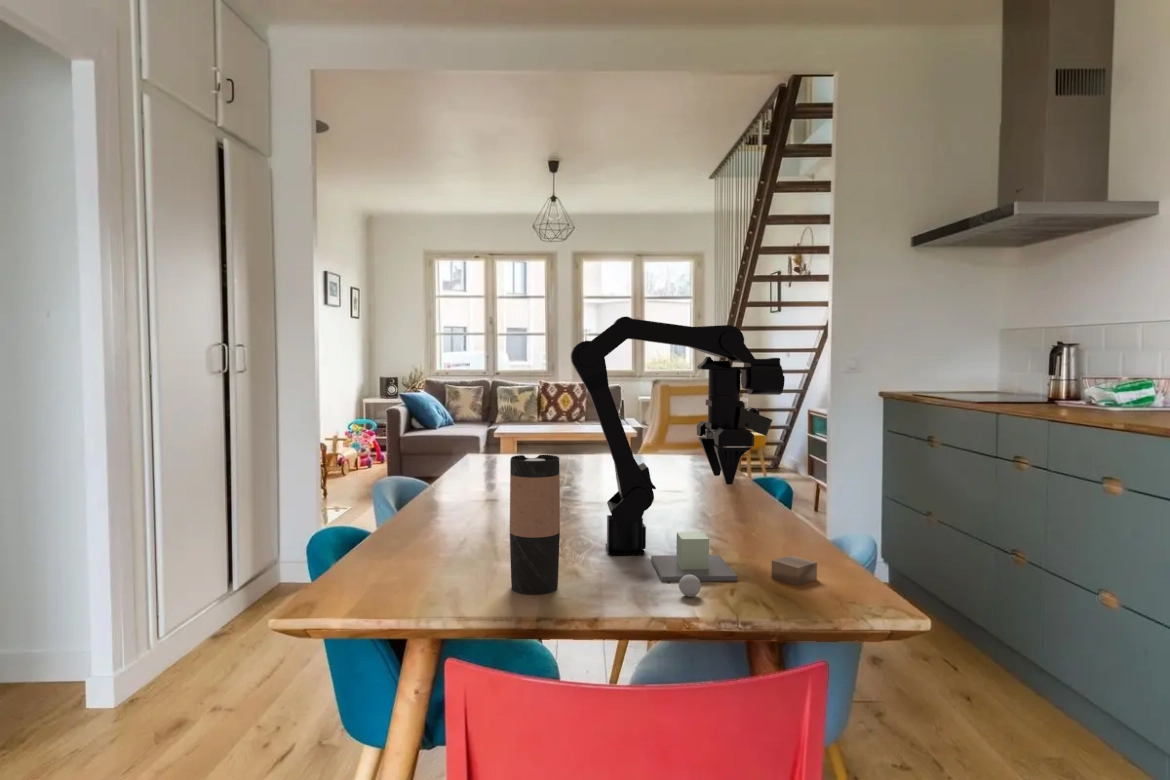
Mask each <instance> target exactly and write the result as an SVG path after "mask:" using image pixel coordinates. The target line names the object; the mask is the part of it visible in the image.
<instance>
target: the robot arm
mask: <svg viewBox="0 0 1170 780" xmlns="http://www.w3.org/2000/svg"><path fill="white" fill-rule="evenodd" d="M627 340H632V341H642V342H649V343H657V344H666V345H671V346H672V345H673V346H677V347H678V346H680V347H687V348H690V349H693V350H695V351H697V352H701V353H703V354H707V355H710V356H705V357H704V359H703V360H702V362H700V363H699V364H698V365H697V369H698V370H703V371H704V370H708V386H707V387H708V390H707V392H708V393H707V395H708V396H707V398H708V399H705V405H706V406H707V420H701V421H700V422H699V423H698V424H697V425H696V435H697V436H698V441H699V443H700V444H701V448H702V449H703V452H704V454H705V457H706V458H707V461H708V464H709V467H710V469H711V472H712V474H713V476H715V477H719V476H720V475H721V473H722V476H723V478H724V482H725V484H726V485H728V486H729V485H733V483H734V480H735V476H736V474H737V469H738V466H739V463H740V461H741V458H742V456H743V455H744V454H745V453H746V452H748V451H751V449H752V447H754V446H755V434H754V433H753V432H755V433H758V434H760V435H764V436H765V437H766V436H768V433H769V430H770V428H771V425H772V422H773V419H771V418H769V417H766V416H764V415H761V414H760V410H759V409H757V408H754V407H751V406H748V408H747V409H745V408H746V403H745V402H744V401H743V400H741V388H742V389H743V390H746V392H747V394H748V395H749V396H750V395H755V396H756V395H757V396H759V395H761V396H762V395H763V396H764V395H766V396H769V395H771V396H772V395H773V396H778V395H780V396H781V394H782V393H783V391H784V386H785V375H784V371H783V367H782V364H781V358H780V357H768V358H755V356H754V355H753V353H752V352H751V351H750V349H749V348H748V347H747V346H746V343H745V337H744V335H743V332H742V331H741V330H740V328H739V327H737V326H734V325H731V324H726V325H725V324H723V325H720V324H719V325H704V326H703V325H702V326H689V325H682V324H681V325H680V324H674V323H666V322H661V321H653V320H645V319H644V320H643V319H638V318H637V319H636V318H632V317H630V316H622V317H619V318H617V319H616V320H615V321H614V322H613V324H611V325H610V326H609V327H607V328H606V329H605V330H604V331H602V332H601V333H600V334H598V335H597V336H595V337H594V338H593V339H592V340H584V341H580V342H579V343H577V344H576V345H575V346H573V348H572V350H571V352H570V362H571V364H572V366H573V368H574V370H575V372H576V373H577V375H578V377H579V378H580V380H581V382H582V383H583V385H584V387H585V389H586V390H587V392H588V394H589V396H590V399H591V402H592V404H593V407H594V410H595V414H596V416H597V419H598V422H599V424H600V427H601V430H602V433H603V435H604V438H605V441H606V444H607V447H608V450H609V451H610V455H611V457H612V461H613V465H614V469H615V470H614V472H615V477H616V483H617V484H616V485H617V492H615V494H613V496H611V498H609V500H607V503H606V504H607V507H608V509H609V513H610V514H609V515H606V543H605V549H606V551H607V552H606V553H607V555H608V556H624V555H625V556H627V555H628V556H636V555H637V556H640V555H641V556H642V555H645V550H646V548H647V547H646V546H647V540H646V539H647V536H646V535H647V527H646V525H645V524H644V521H643V520H644V518H643V515H644V513H645V511H647V510H648V509H649V508H650V507H652V504H653V502H654V500H655V493H654V491H653V490H656V489H657V487H656V486H655V484H653V482H652V479H651V473H650V468H649V467H648V466H647V465H646V464H645V462H642V463H641V464H638V462H637V460H636V459H635V457H634V453H633V452H632V448H631V445H630V442H629V440H628V437H627V434H626V432H625V428H624V426H623V423H622V420H621V418H620V414H619V411H618V409H617V407H616V406H617V405H616V403H615V401H614V398H613V395H612V392H611V390H610V386H609V384H610V383H609V378H608V371H607V364H606V357H607V356H608V355H609V354H610V353H612V352H613V351H614V350H615V349H617V348H618V347H619V346H621V344H623V343H624V342H625V341H627ZM711 356H714V357H717V358H725V359H727V360H713V359H712V357H711ZM731 362H732V363H737V364H738V363H741V364H743V366H731ZM751 430H752V431H753V432H752V431H751Z"/></svg>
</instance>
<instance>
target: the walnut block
mask: <svg viewBox="0 0 1170 780" xmlns="http://www.w3.org/2000/svg"><path fill="white" fill-rule="evenodd" d="M770 573H771V577H770V578H772V579H775V580H778V581H782V582H786V583H789V584H792V585H795V586H800V585H803V584H807V583H810V582H814V581H817V579H818V577H817V576H818V562H816V561H813V560H810V559H805V558H801V557H799V556H796V555H787V556H784V557H780V558H776V559H772V560H771V572H770Z"/></svg>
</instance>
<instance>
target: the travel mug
mask: <svg viewBox="0 0 1170 780" xmlns="http://www.w3.org/2000/svg"><path fill="white" fill-rule="evenodd" d="M509 466H510V467H509V468H510V473H509V474H510V475H509V476H510V477H509V479H510V483H509V551H510V553H509V554H510V559H509V560H510V582H511V589H512V591H514V592H516V593H518V594H521V595H535V596H536V595H537V596H538V595H545V594H549V593H552V592H555V591H556V590H557V589H558V585H559V565H560V542H561V540H560V539H561V538H560V536H561V533H560V532H561V525H560V524H561V512H560V511H561V509H560V505H561V504H560V503H561V502H560V501H561V497H560V496H561V495H560V494H561V493H560V491H561V490H560V487H561V485H560V481H561V480H560V475H561V474H560V472H561V471H560V456H557V455H553V454H538V456H537V457H526V456H525V455H523V454H519V455H518V454H517V455H513V456H511V457H510V465H509Z"/></svg>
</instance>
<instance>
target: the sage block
mask: <svg viewBox="0 0 1170 780" xmlns="http://www.w3.org/2000/svg"><path fill="white" fill-rule="evenodd" d="M675 555H676V562H677V563H678V565H679V566H680V568H681V569H709V555H710V538H709V537H708V535H706V534H705V533H704V532H703V531H700V532H699V531H683V532H682V531H680V532H679V531H677V532H676V554H675Z"/></svg>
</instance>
